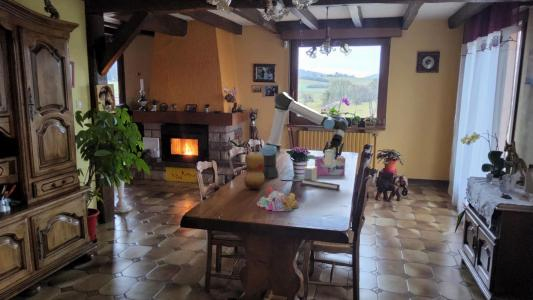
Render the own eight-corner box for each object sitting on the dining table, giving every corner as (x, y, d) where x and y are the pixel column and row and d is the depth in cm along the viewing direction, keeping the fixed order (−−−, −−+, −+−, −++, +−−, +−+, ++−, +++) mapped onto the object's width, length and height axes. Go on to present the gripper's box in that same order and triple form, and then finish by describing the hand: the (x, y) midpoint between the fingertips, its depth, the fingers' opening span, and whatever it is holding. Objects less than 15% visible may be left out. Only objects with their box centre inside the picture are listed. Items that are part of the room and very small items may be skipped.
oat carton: (308, 181, 273) (309, 165, 271) (316, 183, 270) (317, 166, 268) (303, 184, 266) (304, 167, 264) (311, 185, 263) (312, 168, 261)
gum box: (343, 172, 304) (344, 156, 301) (346, 175, 296) (347, 158, 294) (314, 172, 301) (314, 156, 299) (316, 175, 294) (317, 158, 291)
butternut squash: (254, 192, 243) (254, 154, 239) (240, 188, 252) (240, 152, 248) (268, 188, 253) (269, 152, 249) (254, 185, 262) (255, 149, 258)
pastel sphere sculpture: (303, 202, 225) (303, 187, 224) (292, 214, 203) (293, 198, 202) (264, 197, 233) (264, 183, 232) (250, 209, 212) (250, 193, 210)
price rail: (300, 184, 264) (300, 179, 263) (302, 184, 266) (302, 178, 265) (338, 191, 249) (338, 185, 249) (339, 190, 251) (339, 184, 251)
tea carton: (328, 165, 277) (329, 149, 275) (336, 166, 274) (336, 149, 272) (323, 166, 270) (324, 150, 268) (331, 168, 267) (332, 151, 265)
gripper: (351, 141, 277) (342, 166, 266) (327, 138, 287) (317, 163, 276) (349, 134, 272) (339, 160, 261) (325, 132, 281) (314, 157, 271)
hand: (328, 161), depth 268 cm, fingers closed on tea carton, 6 cm apart
